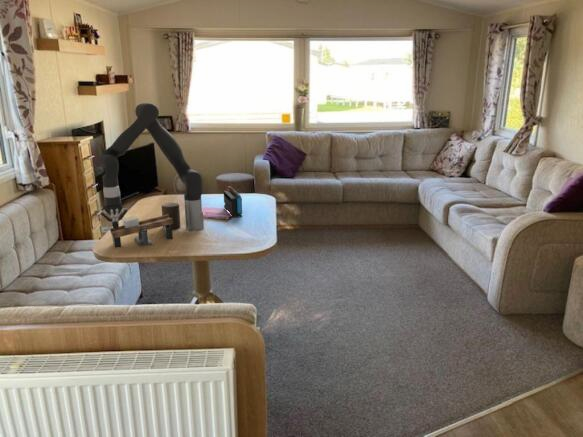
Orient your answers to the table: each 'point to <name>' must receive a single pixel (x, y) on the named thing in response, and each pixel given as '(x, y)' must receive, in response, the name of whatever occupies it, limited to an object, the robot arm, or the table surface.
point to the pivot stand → (145, 237)
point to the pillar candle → (172, 214)
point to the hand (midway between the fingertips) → (115, 228)
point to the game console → (233, 202)
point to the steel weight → (130, 222)
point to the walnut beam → (147, 223)
